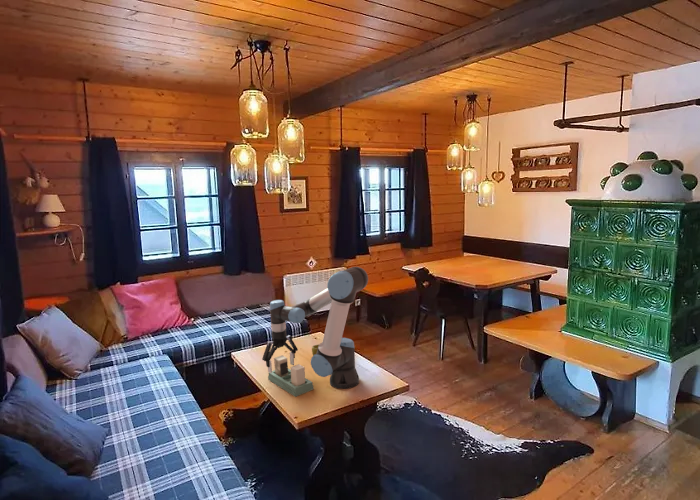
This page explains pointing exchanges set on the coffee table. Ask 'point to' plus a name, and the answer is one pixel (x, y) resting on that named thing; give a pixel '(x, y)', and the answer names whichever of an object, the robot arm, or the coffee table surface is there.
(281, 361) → the block
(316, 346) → the mug
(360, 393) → the coffee table surface
